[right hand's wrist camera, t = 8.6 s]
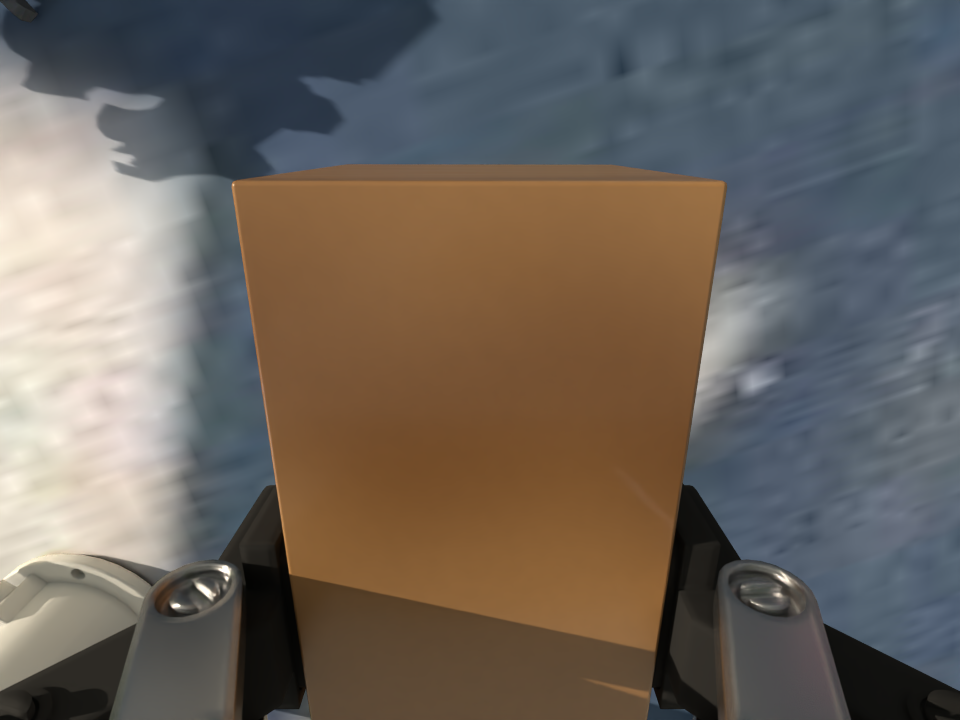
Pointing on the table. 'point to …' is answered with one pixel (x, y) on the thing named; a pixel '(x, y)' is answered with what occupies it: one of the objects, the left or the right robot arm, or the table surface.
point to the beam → (479, 426)
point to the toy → (20, 9)
